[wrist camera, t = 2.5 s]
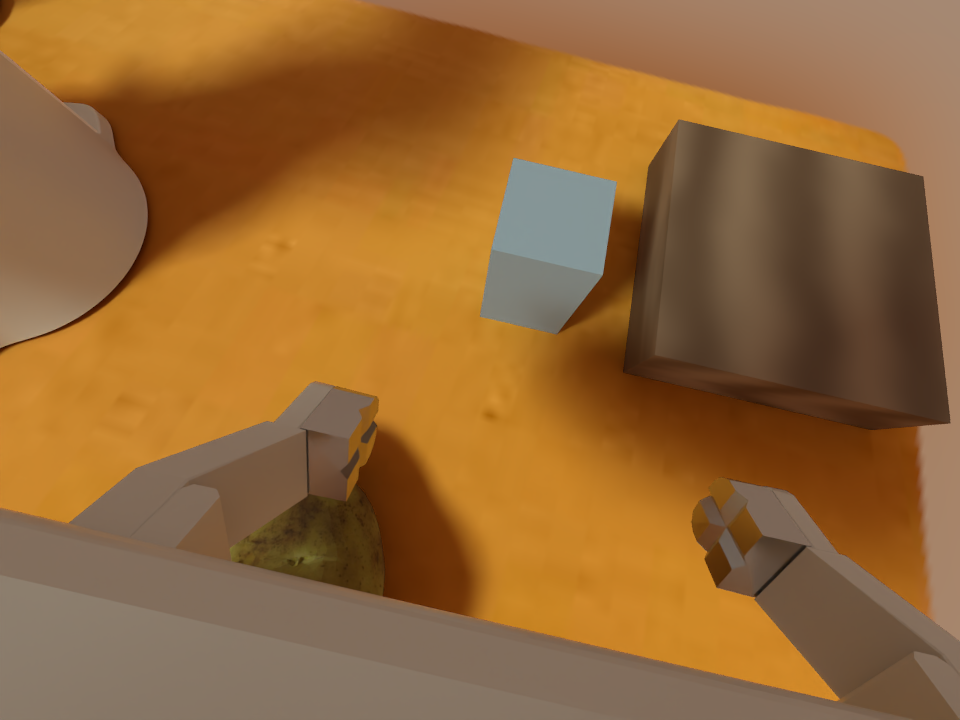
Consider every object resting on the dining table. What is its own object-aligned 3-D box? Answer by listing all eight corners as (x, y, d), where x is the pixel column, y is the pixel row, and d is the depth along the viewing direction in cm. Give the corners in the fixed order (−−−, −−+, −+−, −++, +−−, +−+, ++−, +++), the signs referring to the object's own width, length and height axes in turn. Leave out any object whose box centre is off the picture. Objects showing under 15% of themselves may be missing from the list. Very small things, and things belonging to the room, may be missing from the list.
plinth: (623, 372, 24) (654, 354, 20) (648, 166, 29) (678, 119, 25) (872, 429, 24) (950, 423, 20) (860, 215, 29) (923, 176, 25)
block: (480, 316, 25) (491, 249, 17) (496, 248, 26) (513, 157, 18) (556, 334, 25) (602, 275, 17) (568, 265, 26) (616, 181, 18)
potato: (436, 477, 22) (426, 483, 14) (366, 751, 19) (304, 955, 11) (293, 442, 22) (205, 430, 14) (197, 711, 19) (13, 886, 11)
